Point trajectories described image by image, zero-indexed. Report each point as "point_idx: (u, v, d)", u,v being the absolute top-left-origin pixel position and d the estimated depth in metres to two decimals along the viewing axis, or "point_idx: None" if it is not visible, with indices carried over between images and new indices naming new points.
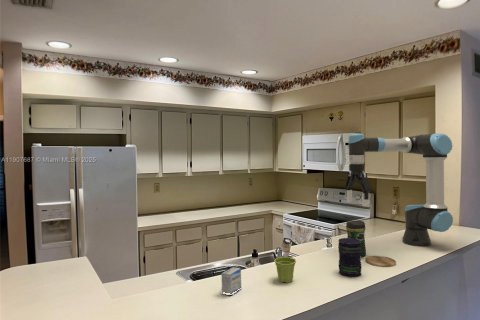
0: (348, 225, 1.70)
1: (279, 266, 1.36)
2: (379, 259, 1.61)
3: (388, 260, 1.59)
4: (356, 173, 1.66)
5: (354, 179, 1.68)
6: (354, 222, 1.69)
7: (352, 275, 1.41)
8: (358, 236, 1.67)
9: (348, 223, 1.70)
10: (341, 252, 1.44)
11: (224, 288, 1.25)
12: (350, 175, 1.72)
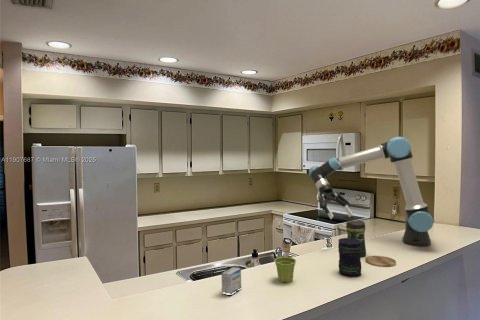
0: (348, 225, 1.70)
1: (279, 266, 1.36)
2: (379, 259, 1.61)
3: (388, 260, 1.59)
4: None
5: None
6: (354, 222, 1.69)
7: (352, 275, 1.41)
8: (358, 236, 1.67)
9: (348, 223, 1.70)
10: (341, 252, 1.44)
11: (224, 288, 1.25)
12: None
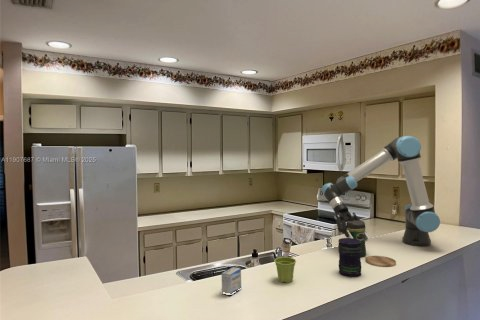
0: (348, 225, 1.70)
1: (279, 266, 1.36)
2: (379, 259, 1.61)
3: (388, 260, 1.59)
4: None
5: None
6: (354, 222, 1.69)
7: (352, 275, 1.41)
8: (358, 236, 1.67)
9: (348, 223, 1.70)
10: (341, 252, 1.44)
11: (224, 288, 1.25)
12: None
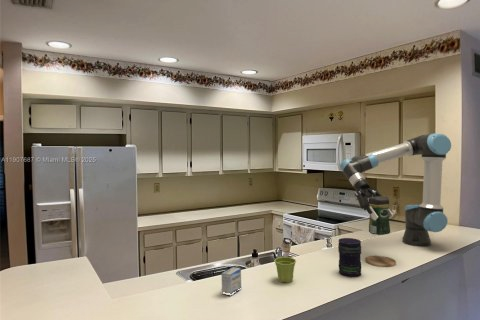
0: (371, 201, 1.59)
1: (279, 266, 1.36)
2: (379, 259, 1.61)
3: (388, 260, 1.59)
4: None
5: None
6: (377, 197, 1.58)
7: (352, 275, 1.41)
8: (381, 213, 1.56)
9: (371, 199, 1.59)
10: (341, 252, 1.44)
11: (224, 288, 1.25)
12: None
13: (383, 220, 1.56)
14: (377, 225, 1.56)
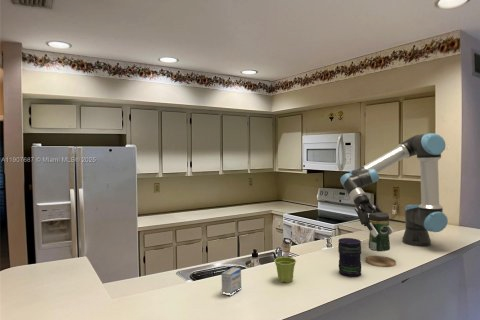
0: (371, 217, 1.59)
1: (279, 266, 1.36)
2: (379, 259, 1.61)
3: (388, 260, 1.59)
4: None
5: None
6: (377, 214, 1.58)
7: (352, 275, 1.41)
8: (382, 229, 1.56)
9: (371, 215, 1.59)
10: (341, 252, 1.44)
11: (224, 288, 1.25)
12: None
13: (383, 236, 1.56)
14: (377, 241, 1.56)
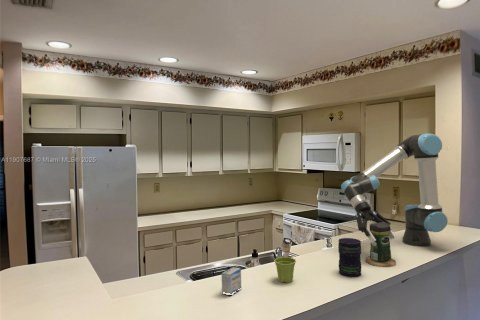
0: (372, 228, 1.58)
1: (279, 266, 1.36)
2: None
3: None
4: None
5: None
6: (379, 224, 1.57)
7: (352, 275, 1.41)
8: (383, 240, 1.56)
9: (372, 225, 1.58)
10: (341, 252, 1.44)
11: (224, 288, 1.25)
12: (373, 215, 1.70)
13: (385, 247, 1.56)
14: (378, 252, 1.56)
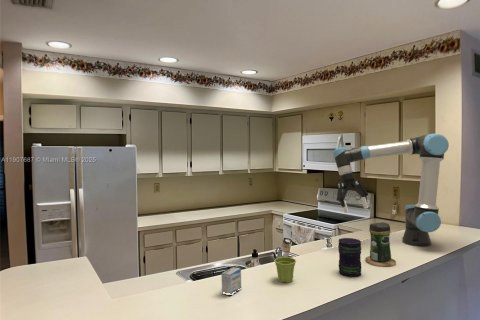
0: (372, 227, 1.59)
1: (279, 266, 1.36)
2: None
3: None
4: None
5: None
6: (378, 224, 1.58)
7: (352, 275, 1.41)
8: (383, 240, 1.56)
9: (372, 225, 1.59)
10: (341, 252, 1.44)
11: (224, 288, 1.25)
12: None
13: (384, 247, 1.56)
14: (378, 252, 1.56)
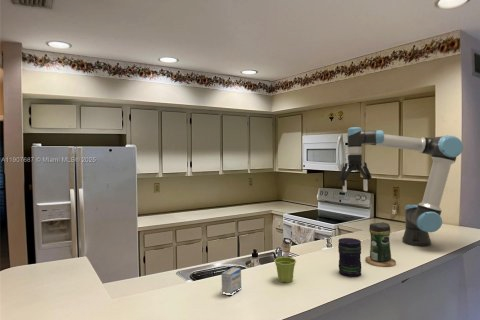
0: (372, 227, 1.59)
1: (279, 266, 1.36)
2: None
3: None
4: None
5: None
6: (378, 224, 1.58)
7: (352, 275, 1.41)
8: (383, 240, 1.56)
9: (372, 225, 1.59)
10: (341, 252, 1.44)
11: (224, 288, 1.25)
12: (361, 165, 1.86)
13: (384, 247, 1.56)
14: (378, 252, 1.56)
